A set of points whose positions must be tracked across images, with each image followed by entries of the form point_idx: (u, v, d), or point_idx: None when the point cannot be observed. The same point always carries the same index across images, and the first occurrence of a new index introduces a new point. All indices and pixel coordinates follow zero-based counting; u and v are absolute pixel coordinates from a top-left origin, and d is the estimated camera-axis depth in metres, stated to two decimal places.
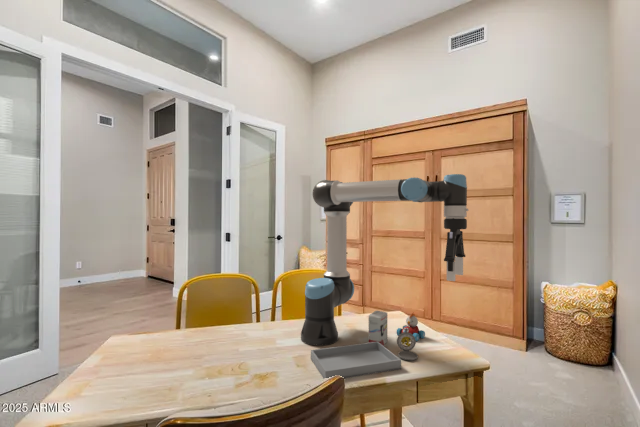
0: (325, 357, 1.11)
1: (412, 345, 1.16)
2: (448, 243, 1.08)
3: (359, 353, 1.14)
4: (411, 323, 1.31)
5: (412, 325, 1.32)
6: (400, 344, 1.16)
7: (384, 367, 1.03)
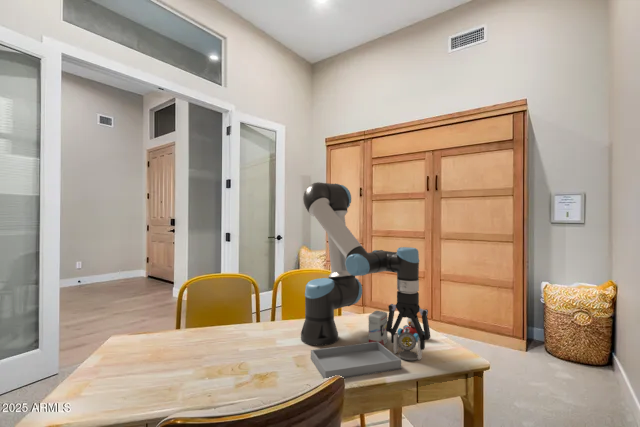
0: (325, 357, 1.11)
1: (413, 346, 1.16)
2: None
3: (359, 353, 1.14)
4: (412, 323, 1.31)
5: (413, 325, 1.31)
6: (401, 344, 1.16)
7: (384, 367, 1.03)
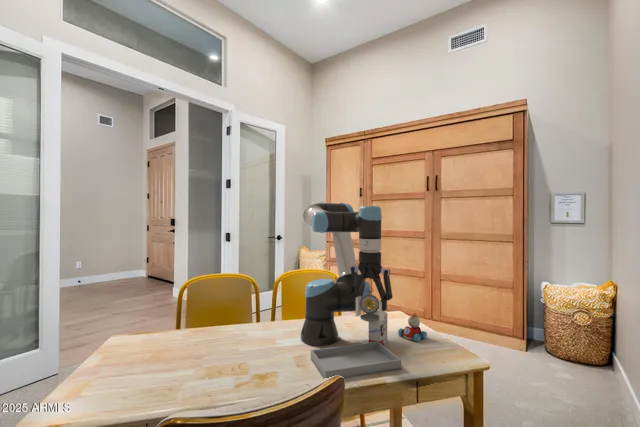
0: (325, 357, 1.11)
1: (376, 308, 1.11)
2: None
3: (359, 353, 1.14)
4: (413, 324, 1.31)
5: (414, 326, 1.31)
6: (363, 307, 1.12)
7: (384, 367, 1.03)
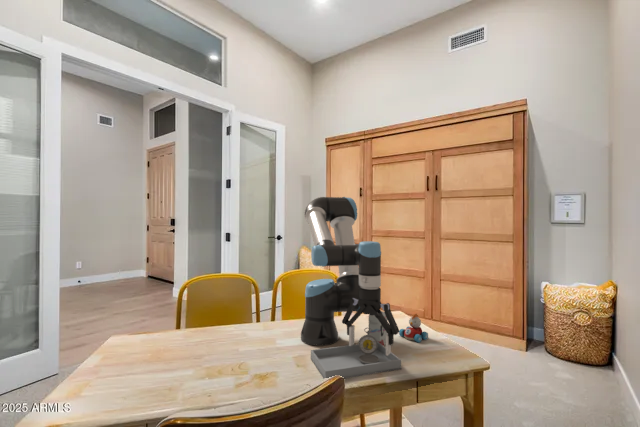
0: (325, 357, 1.11)
1: (374, 349, 1.12)
2: None
3: (359, 353, 1.14)
4: (414, 324, 1.30)
5: (415, 326, 1.30)
6: (362, 347, 1.12)
7: (384, 367, 1.03)
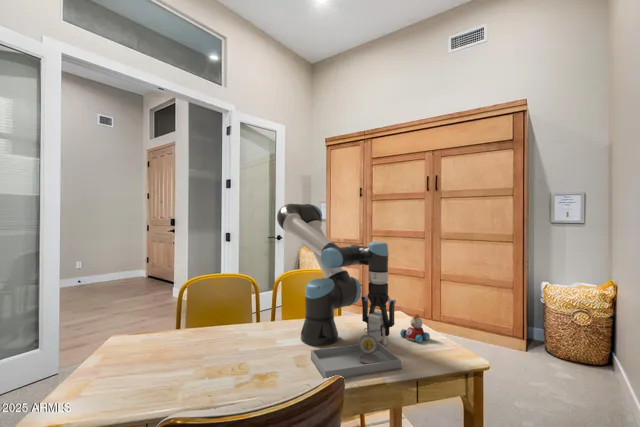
0: (325, 357, 1.11)
1: (374, 349, 1.12)
2: None
3: (359, 353, 1.14)
4: (415, 325, 1.30)
5: (416, 327, 1.30)
6: (362, 347, 1.12)
7: (384, 367, 1.03)
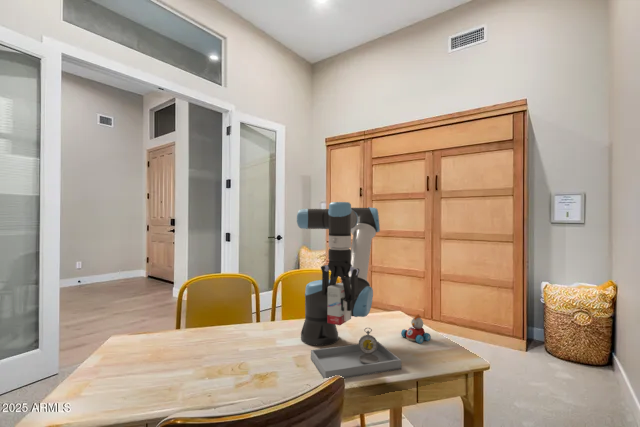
0: (325, 357, 1.11)
1: (374, 349, 1.12)
2: None
3: (359, 353, 1.14)
4: (416, 325, 1.29)
5: (417, 327, 1.29)
6: (362, 347, 1.12)
7: (384, 367, 1.03)
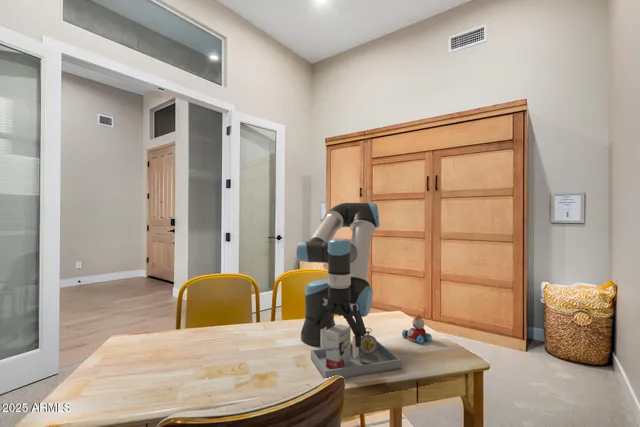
0: (325, 357, 1.11)
1: (374, 349, 1.12)
2: None
3: (359, 353, 1.14)
4: (416, 325, 1.29)
5: (418, 327, 1.29)
6: (362, 347, 1.12)
7: (384, 367, 1.03)
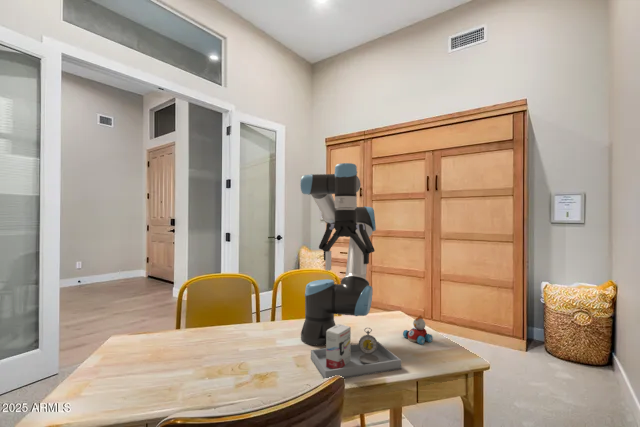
0: (325, 357, 1.11)
1: (374, 349, 1.12)
2: None
3: (359, 353, 1.14)
4: (417, 326, 1.28)
5: (418, 328, 1.28)
6: (362, 347, 1.12)
7: (384, 367, 1.03)
